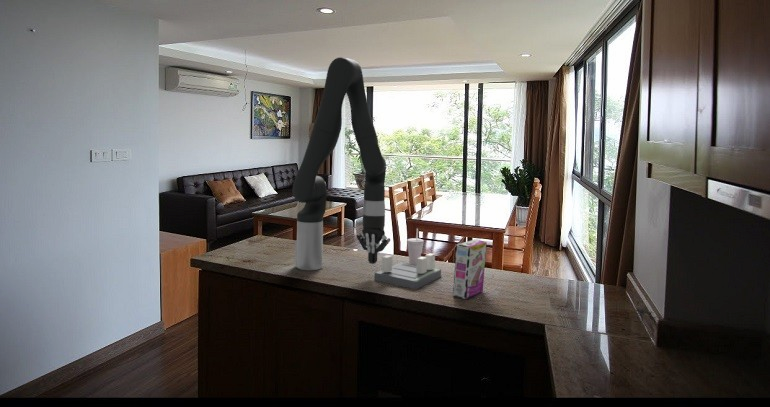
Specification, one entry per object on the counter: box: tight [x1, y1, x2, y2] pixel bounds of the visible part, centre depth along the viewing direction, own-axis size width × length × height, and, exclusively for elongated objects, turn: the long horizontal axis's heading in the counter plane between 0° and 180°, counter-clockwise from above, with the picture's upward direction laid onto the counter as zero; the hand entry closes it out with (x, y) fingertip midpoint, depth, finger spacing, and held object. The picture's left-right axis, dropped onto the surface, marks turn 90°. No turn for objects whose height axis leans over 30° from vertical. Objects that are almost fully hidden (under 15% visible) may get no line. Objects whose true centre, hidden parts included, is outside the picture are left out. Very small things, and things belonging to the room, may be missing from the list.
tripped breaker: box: [381, 254, 394, 273], centre depth 158 cm, size 2×4×5 cm, turn 148°
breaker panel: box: [373, 252, 442, 290], centre depth 161 cm, size 16×18×8 cm
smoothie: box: [406, 228, 425, 265], centre depth 179 cm, size 6×6×14 cm
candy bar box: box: [452, 239, 488, 300], centre depth 146 cm, size 11×5×16 cm, turn 141°
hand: (372, 263), depth 161 cm, fingers closed
